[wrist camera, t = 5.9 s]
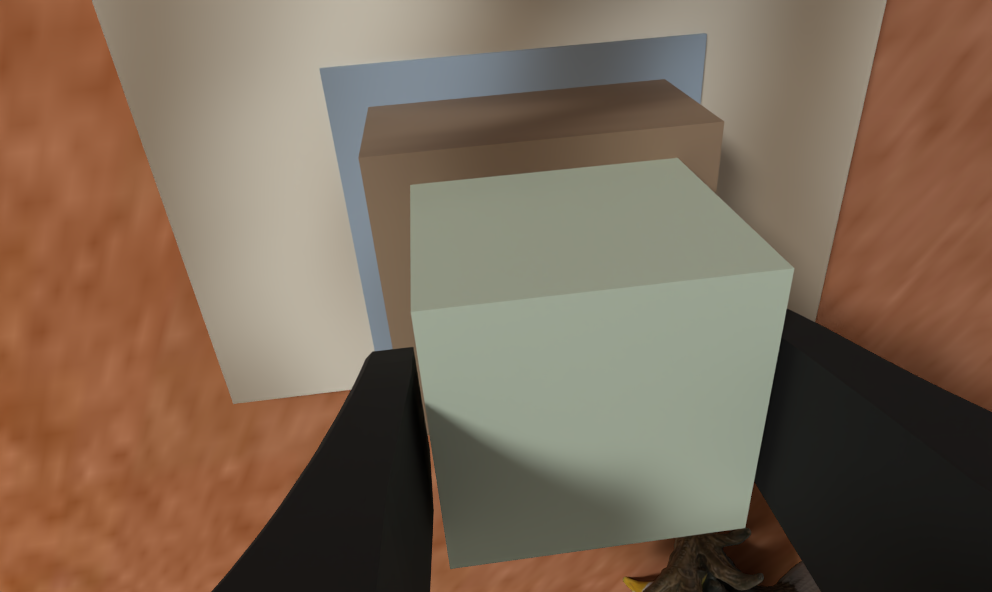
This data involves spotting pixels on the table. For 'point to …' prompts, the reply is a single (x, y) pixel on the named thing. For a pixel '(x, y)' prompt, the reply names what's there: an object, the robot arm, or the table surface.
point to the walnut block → (515, 155)
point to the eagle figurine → (716, 569)
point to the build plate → (441, 76)
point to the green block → (591, 356)
